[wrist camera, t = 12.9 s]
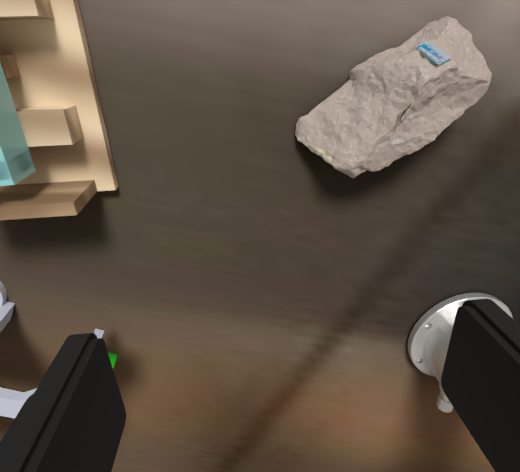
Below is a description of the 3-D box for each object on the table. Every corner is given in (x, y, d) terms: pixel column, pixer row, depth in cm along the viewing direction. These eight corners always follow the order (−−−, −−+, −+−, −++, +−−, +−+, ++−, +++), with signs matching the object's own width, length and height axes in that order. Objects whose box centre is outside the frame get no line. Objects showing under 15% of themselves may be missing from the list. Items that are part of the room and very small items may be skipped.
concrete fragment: (283, 113, 30) (297, 127, 25) (435, 6, 28) (487, -4, 23) (323, 179, 33) (343, 203, 28) (463, 88, 31) (515, 96, 26)
